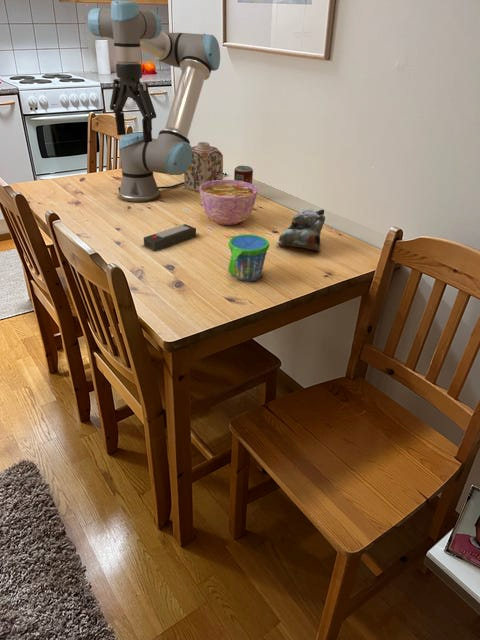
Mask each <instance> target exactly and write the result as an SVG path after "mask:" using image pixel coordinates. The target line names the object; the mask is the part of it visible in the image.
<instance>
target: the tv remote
mask: <svg viewBox="0 0 480 640" xmlns="http://www.w3.org/2000/svg"><path fill="white" fill-rule="evenodd" d="M195 237H197V227H194V226H191V225H189V224H186V223H184V224H180V225H178V226H174V227H171V228H168V229H165V230H162V231H158V232H156V233H154V234H150V235H147V236H144V237H143V247H145V248H147V249H150V250H151V251H154V252H156V251H159V250H162V249H165V248H167V247H171V246H173V245H176V244H180V243H181V242H184V241H187V240H190V239H193V238H195Z"/></svg>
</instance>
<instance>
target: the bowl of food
mask: <svg viewBox="0 0 480 640" xmlns="http://www.w3.org/2000/svg"><path fill="white" fill-rule="evenodd" d="M199 190H200V192H199V194H200V195H199V196H200V199H201V203H202V207H203V210H204V213H205V214H206V215H207V217H208V218H210V219H211V220H213V221H215V222H216V223H218V224H220V225H224V226H234V225H237V224H239V223H241V222H244V221H245V220H247V219H248V218H249V217H250V216H251V214H252V212H253V210H254V207H255V204H256V200H257V197H258V193H259V188H258V187H257V186H256V185H255V184H253V183H252V184H250V183H248V182H243V181H236V180H234V179H223V180H215V181H210V182H206V183H204V184H202V185H201V186H200V187H199Z"/></svg>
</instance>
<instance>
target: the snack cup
mask: <svg viewBox="0 0 480 640" xmlns="http://www.w3.org/2000/svg"><path fill="white" fill-rule="evenodd" d="M228 247H229V250H230V253H231V254H230V258H229V263H228V269H227V270H228V273H229V274H230V275H232V276H234V277H235V278H236V279H238V280H239V281H245V282H255V281H256V280H258V279H260V277H262V274H263V269H264V266H265V265H264V264H265V260H266V256H267V253H268V250H269V248H270V243H269V241H268V239H266V238H265V237H263V236H261V235H257V234H238V235H234V236H233V237H231V238H230V239H229V241H228Z"/></svg>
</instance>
